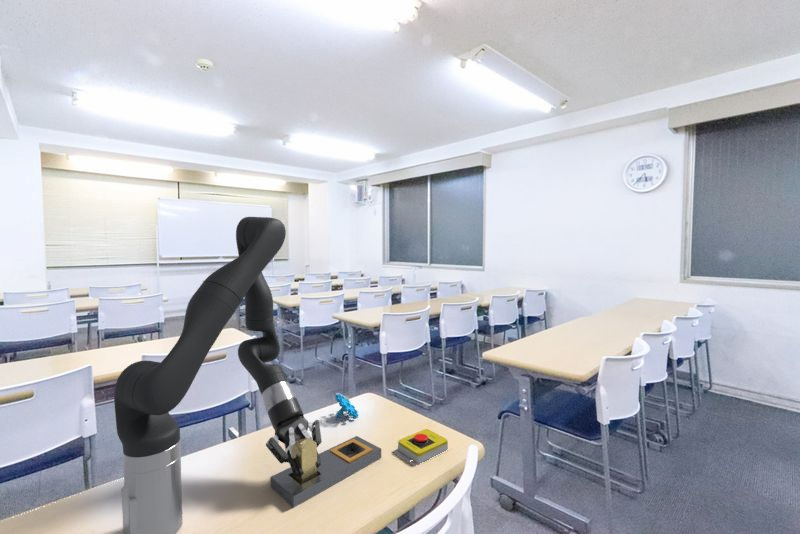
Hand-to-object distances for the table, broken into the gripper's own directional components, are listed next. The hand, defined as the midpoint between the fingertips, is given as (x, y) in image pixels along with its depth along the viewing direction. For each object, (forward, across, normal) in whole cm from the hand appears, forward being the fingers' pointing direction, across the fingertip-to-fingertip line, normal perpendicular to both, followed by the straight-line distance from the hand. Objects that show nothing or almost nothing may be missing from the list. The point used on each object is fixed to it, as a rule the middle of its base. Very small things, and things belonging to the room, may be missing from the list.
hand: (309, 470), depth 85 cm
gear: (-13, +30, +20) cm, 38 cm away
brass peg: (+2, 0, +4) cm, 5 cm away
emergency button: (+10, +31, -3) cm, 33 cm away
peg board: (+2, +7, +4) cm, 8 cm away
